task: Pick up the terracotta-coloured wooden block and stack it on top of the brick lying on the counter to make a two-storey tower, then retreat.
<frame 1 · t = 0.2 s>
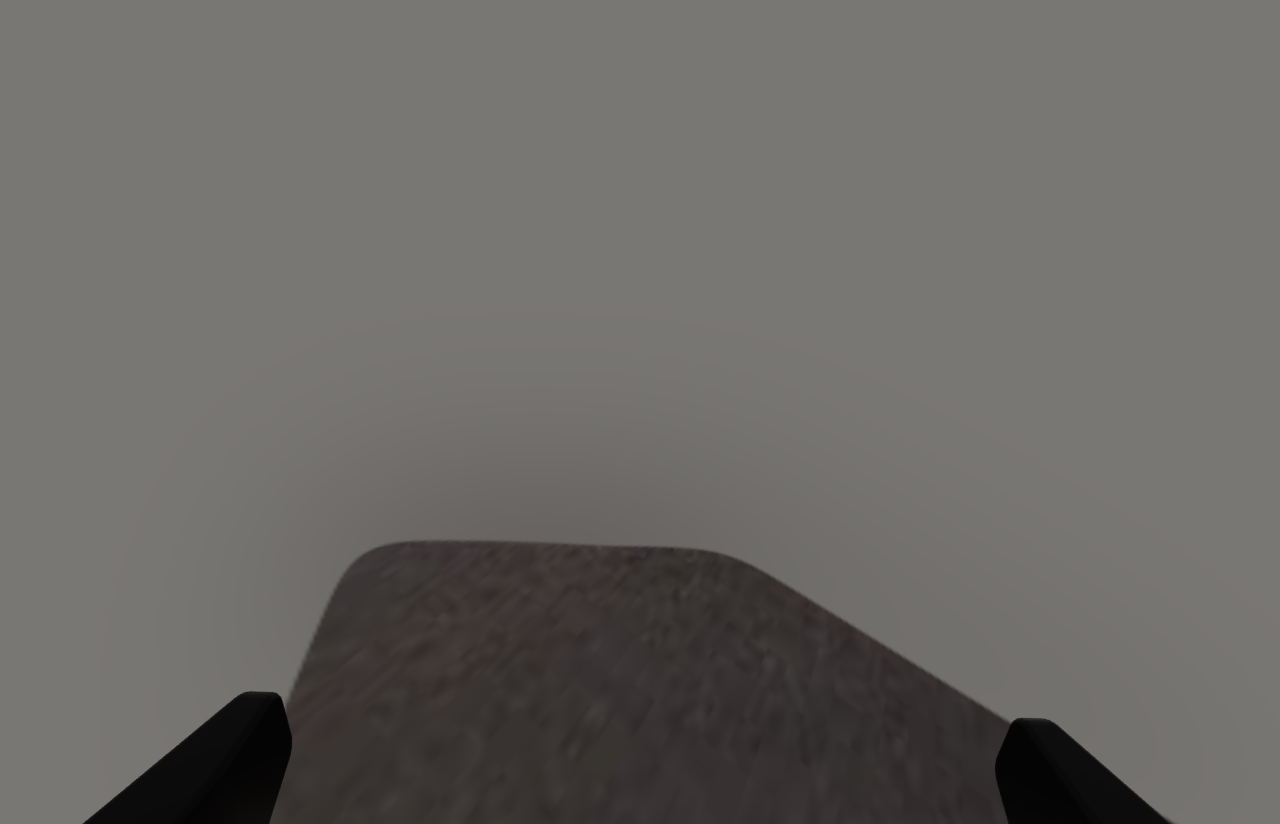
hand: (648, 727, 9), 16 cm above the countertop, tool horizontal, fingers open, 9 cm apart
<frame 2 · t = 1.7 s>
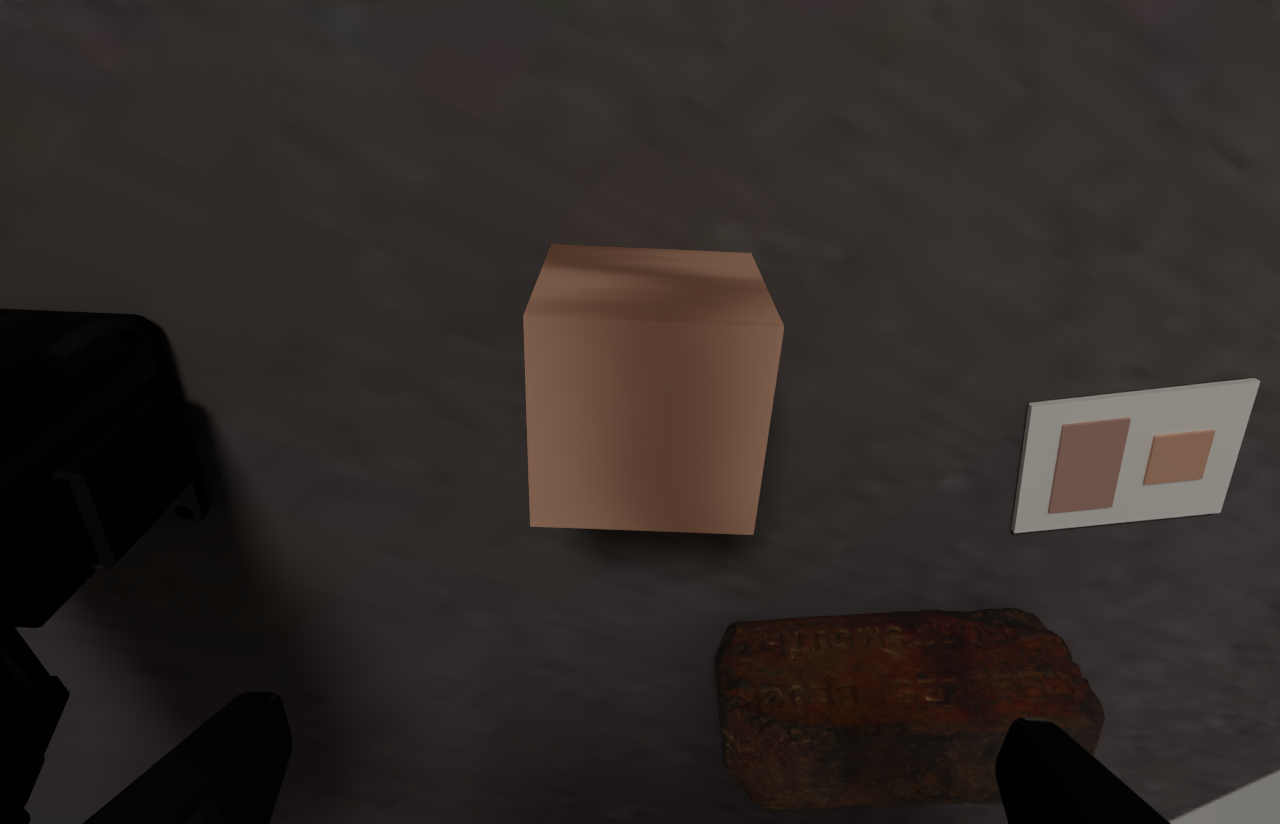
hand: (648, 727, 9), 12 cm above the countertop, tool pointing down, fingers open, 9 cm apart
brick: (867, 644, 25), on the countertop
top block: (646, 339, 20), on the countertop
instruction card: (1125, 458, 21), on the countertop
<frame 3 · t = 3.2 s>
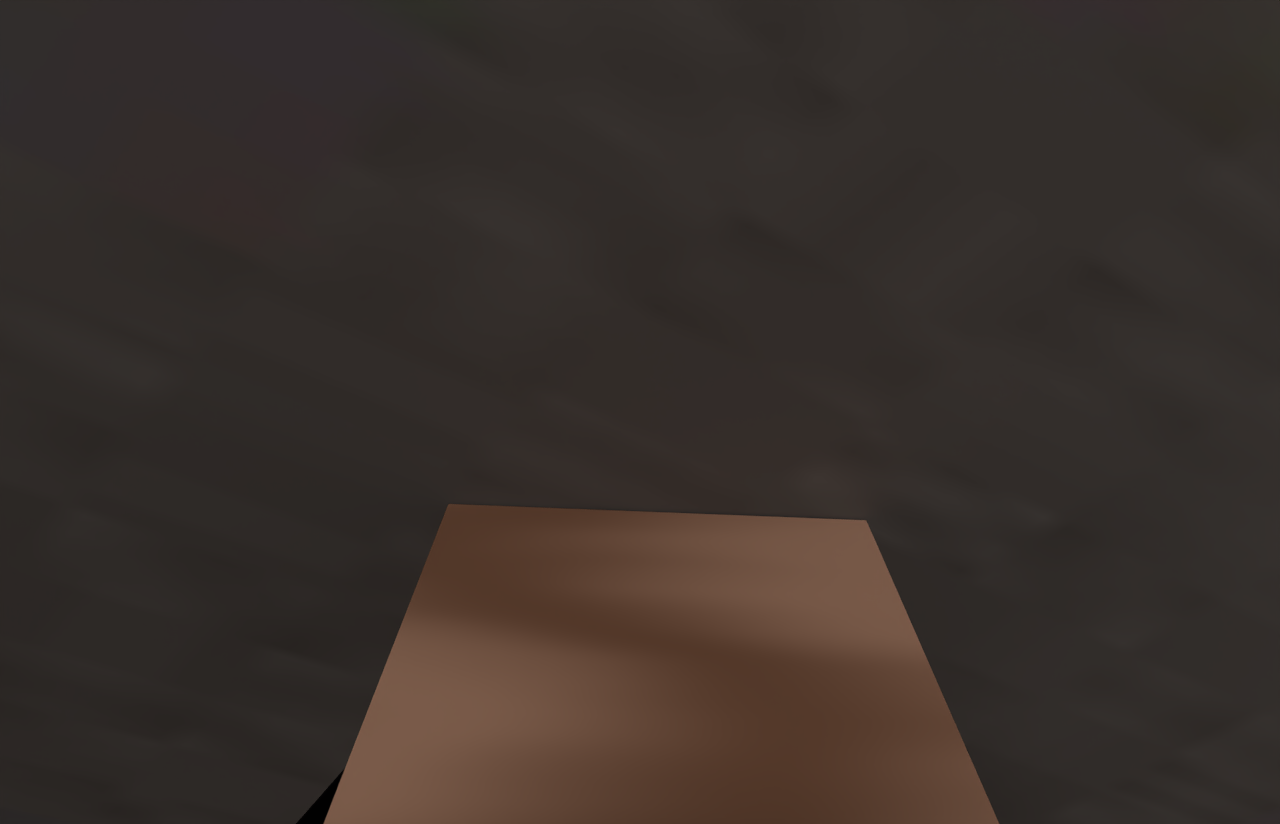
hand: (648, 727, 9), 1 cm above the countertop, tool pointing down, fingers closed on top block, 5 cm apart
top block: (647, 661, 10), on the countertop, touching gripper
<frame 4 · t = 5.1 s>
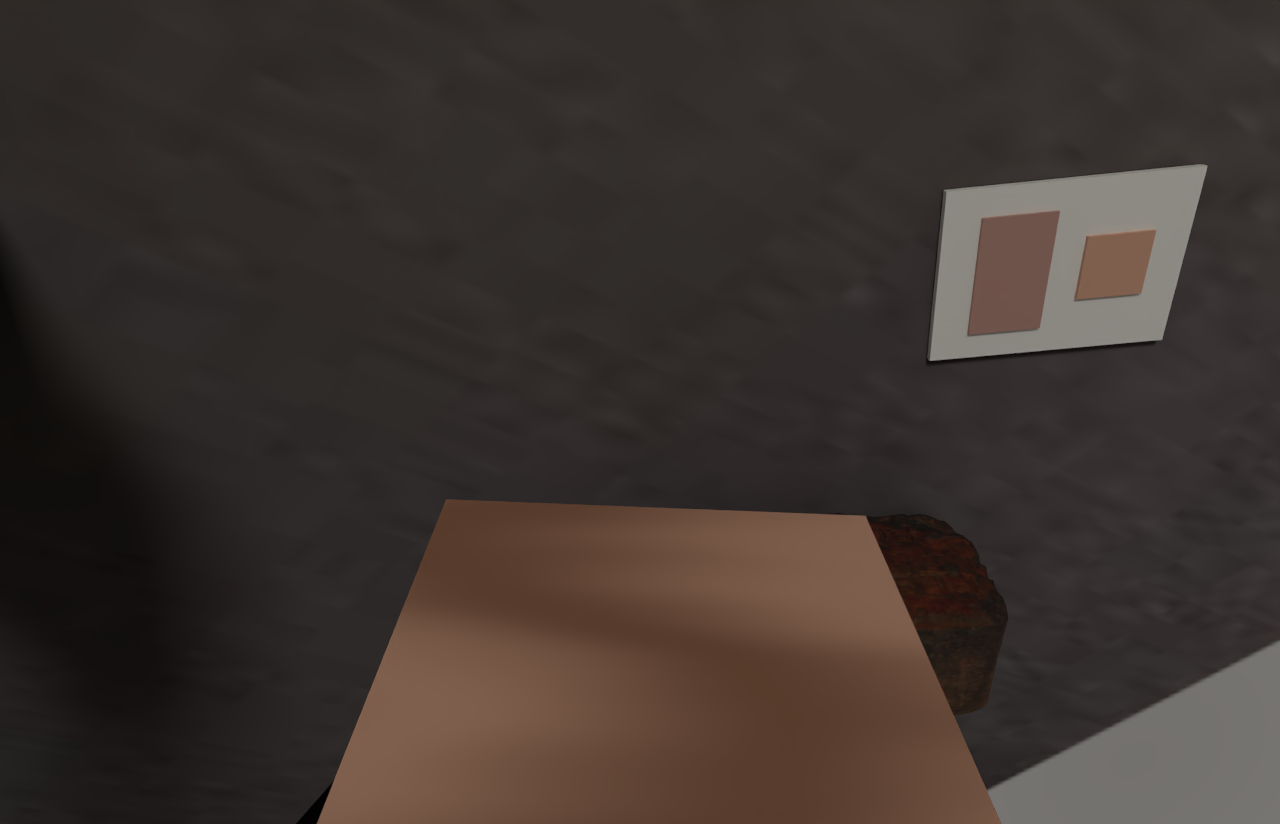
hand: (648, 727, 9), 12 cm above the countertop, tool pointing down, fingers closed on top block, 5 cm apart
brick: (768, 553, 23), on the countertop
top block: (646, 658, 10), point 11 cm above the countertop, touching gripper
instruction card: (1055, 267, 19), on the countertop
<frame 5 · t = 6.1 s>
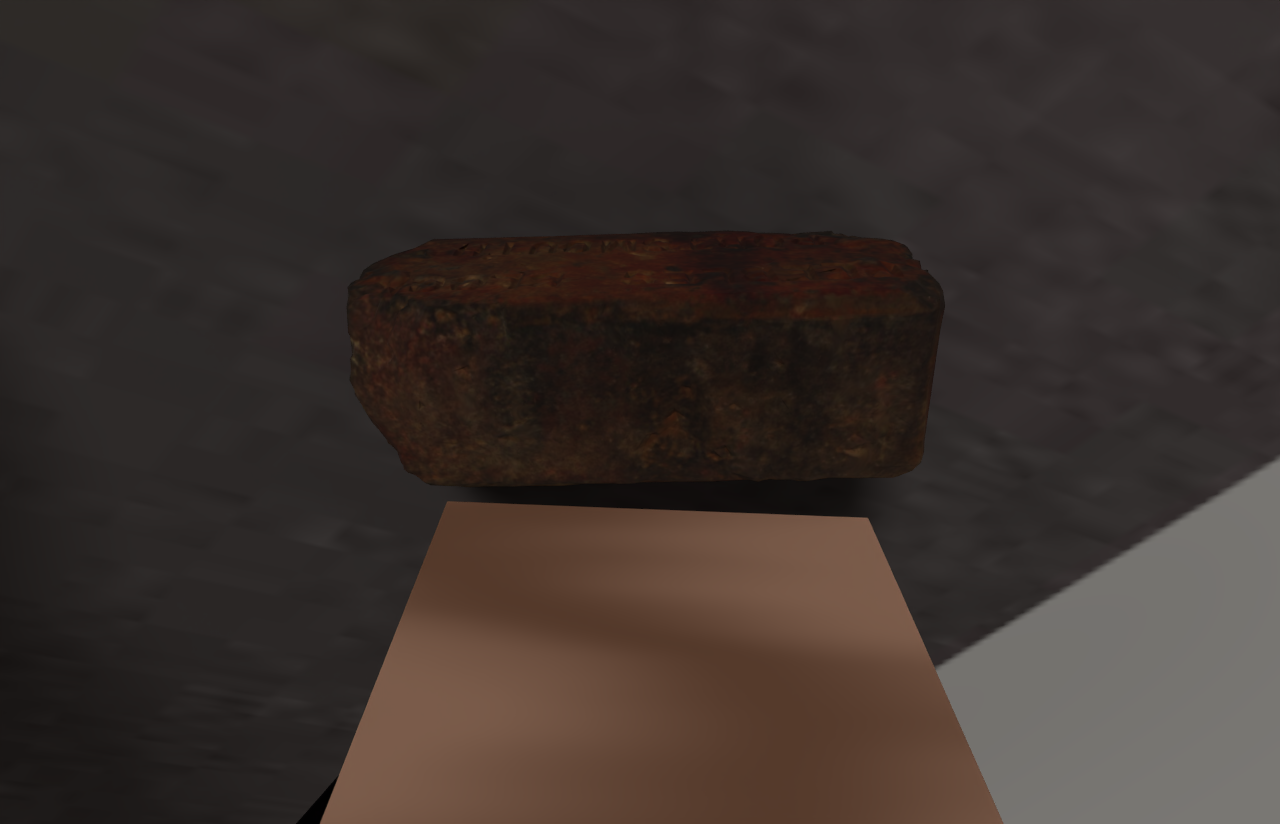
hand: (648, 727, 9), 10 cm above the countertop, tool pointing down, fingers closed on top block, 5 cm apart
brick: (641, 306, 17), on the countertop
top block: (647, 660, 10), point 9 cm above the countertop, touching gripper
when the fingers open (7 cm above the countertop, at t = 6.9 s): top block drops 2 cm, resting on brick.
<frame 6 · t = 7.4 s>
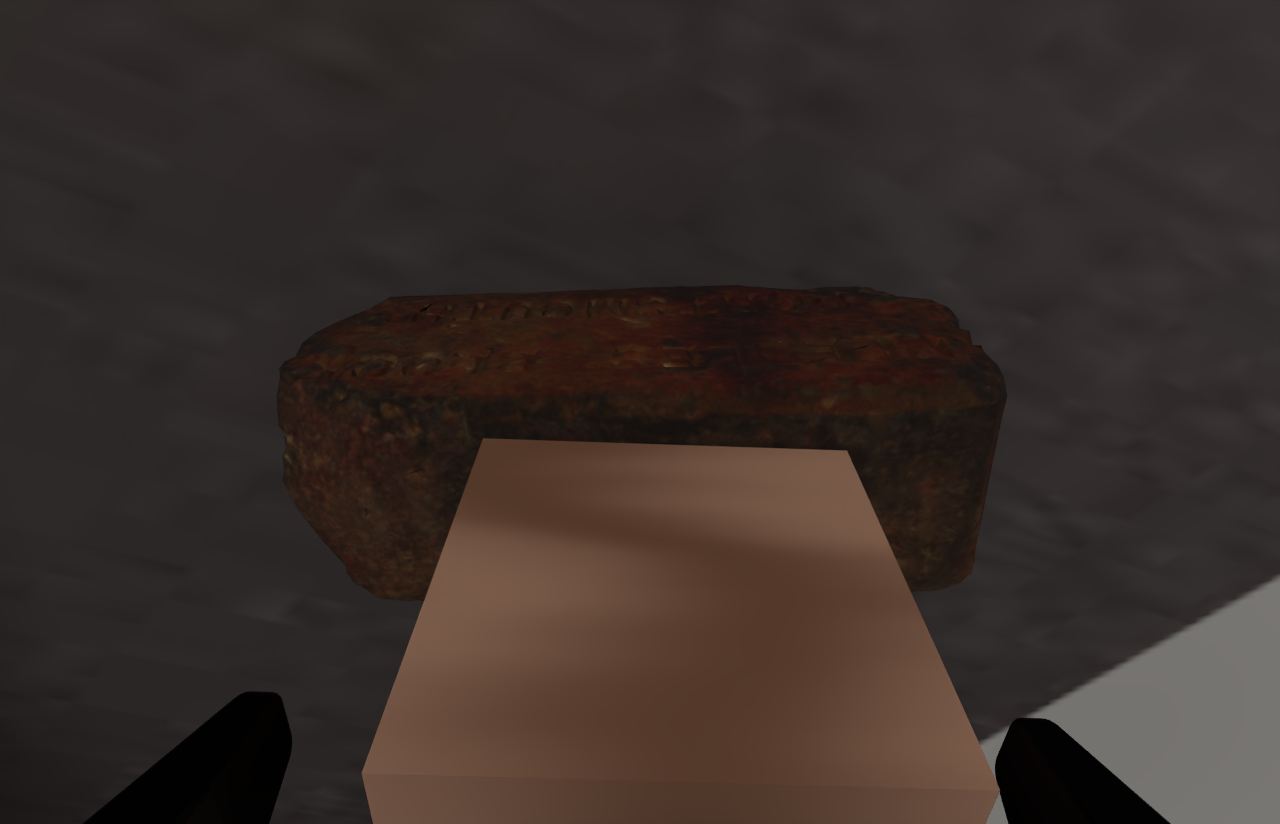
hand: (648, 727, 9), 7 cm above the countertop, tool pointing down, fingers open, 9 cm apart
brick: (635, 368, 15), on the countertop, touching top block
top block: (656, 582, 11), point 4 cm above the countertop, touching brick
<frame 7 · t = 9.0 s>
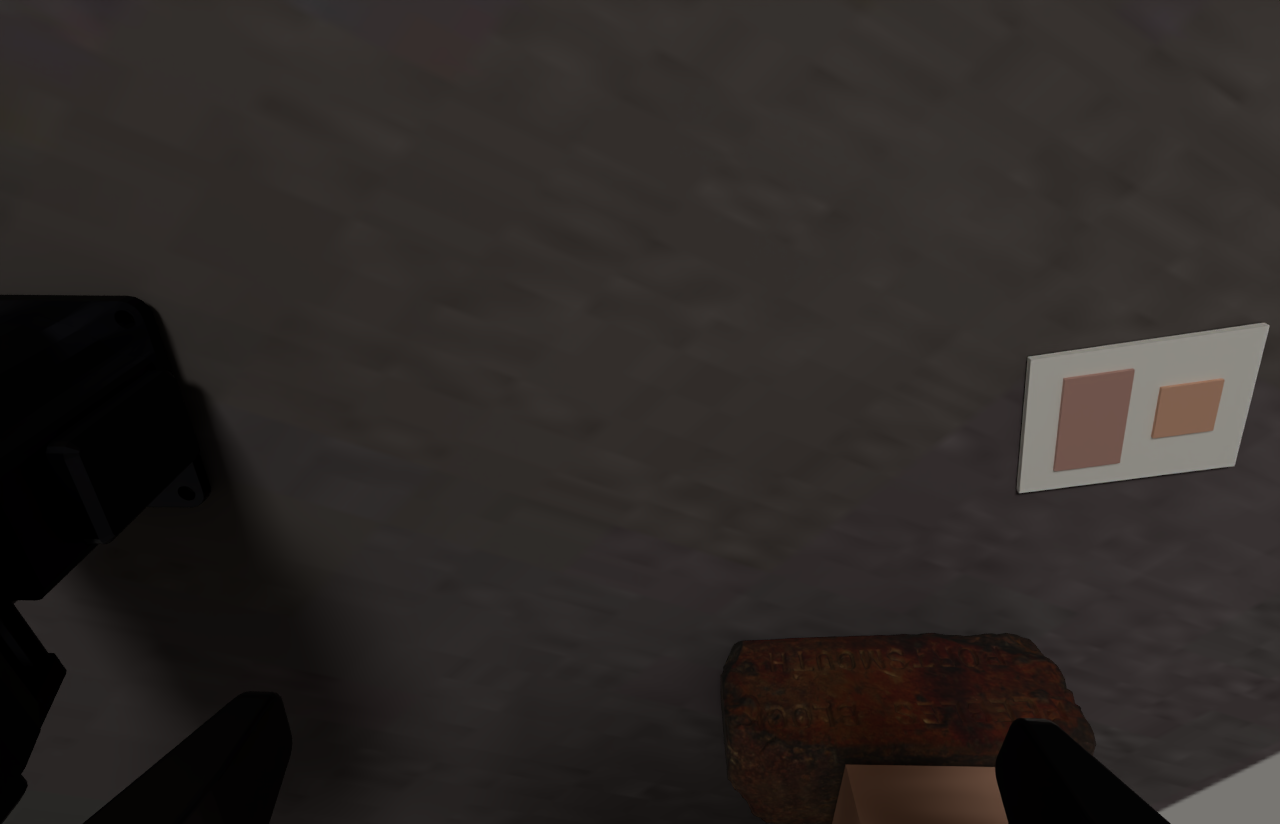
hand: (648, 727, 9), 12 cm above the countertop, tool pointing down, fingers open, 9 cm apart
brick: (867, 663, 26), on the countertop, touching top block
top block: (915, 817, 23), point 4 cm above the countertop, touching brick
instruction card: (1132, 411, 21), on the countertop
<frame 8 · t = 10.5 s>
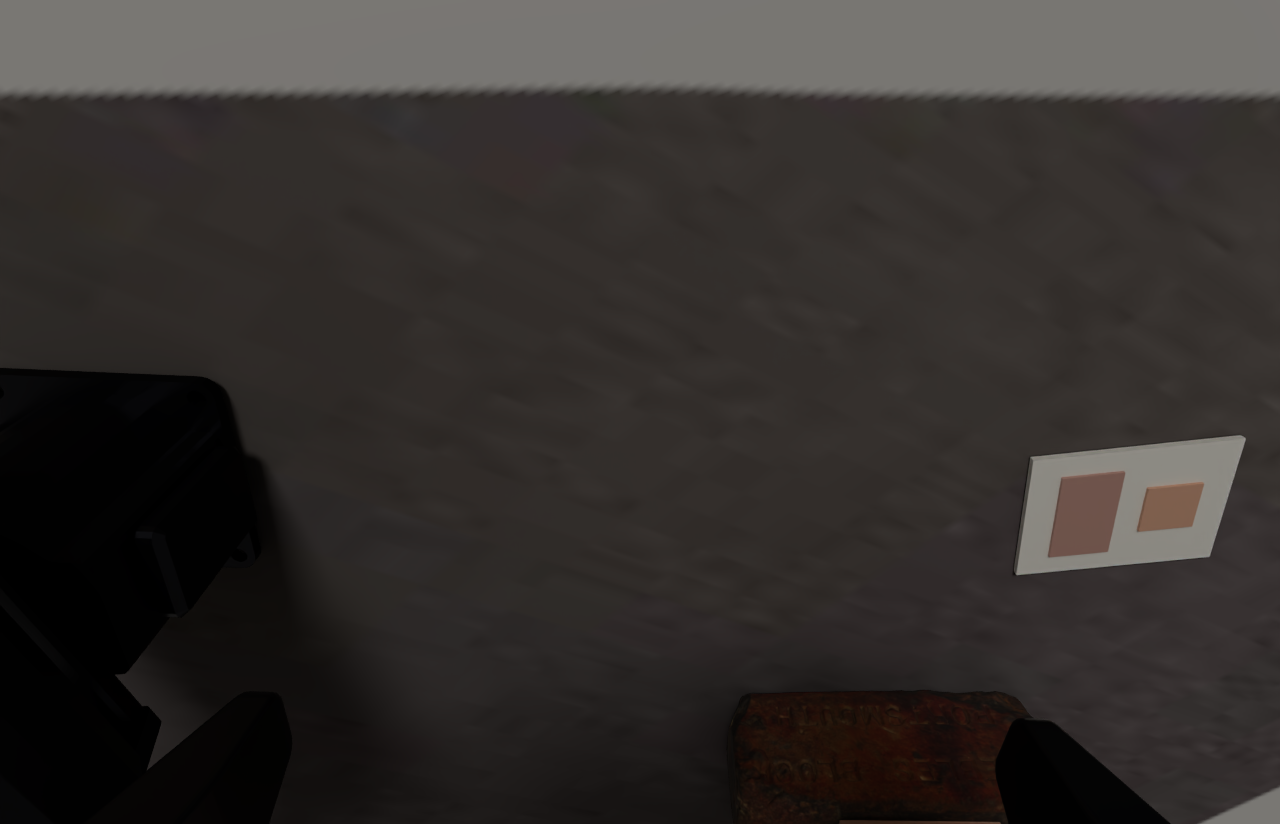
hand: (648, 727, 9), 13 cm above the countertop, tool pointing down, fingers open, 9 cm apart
brick: (865, 715, 28), on the countertop, touching top block
instruction card: (1121, 506, 23), on the countertop
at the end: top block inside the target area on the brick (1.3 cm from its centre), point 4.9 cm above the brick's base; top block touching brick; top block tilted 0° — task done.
